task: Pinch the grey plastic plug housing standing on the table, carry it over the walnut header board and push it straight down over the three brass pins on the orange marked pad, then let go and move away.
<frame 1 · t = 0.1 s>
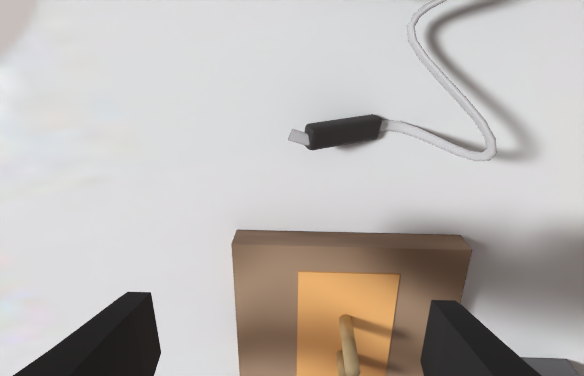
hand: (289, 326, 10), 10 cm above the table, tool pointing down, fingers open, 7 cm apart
header board: (340, 333, 22), on the table
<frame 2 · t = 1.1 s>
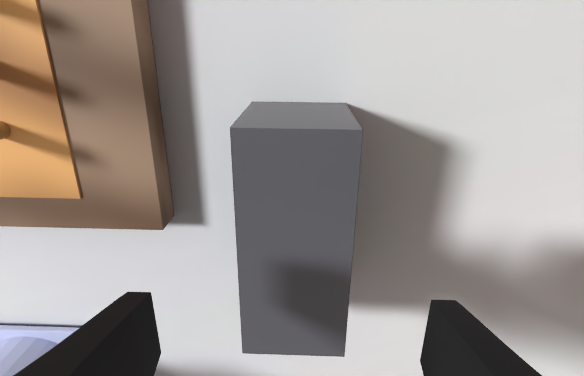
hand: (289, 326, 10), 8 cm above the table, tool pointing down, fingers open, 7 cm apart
header board: (13, 62, 15), on the table
plug housing: (297, 198, 17), on the table
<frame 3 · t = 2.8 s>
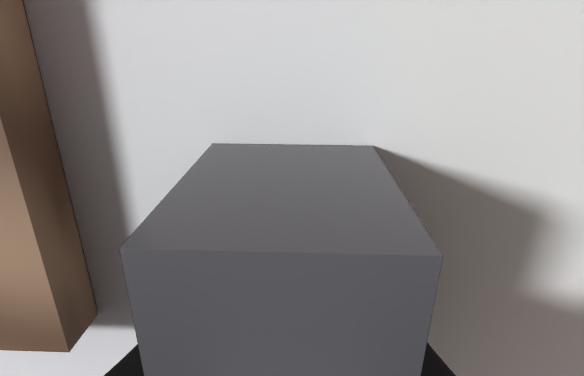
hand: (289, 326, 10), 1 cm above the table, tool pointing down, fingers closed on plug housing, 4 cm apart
plug housing: (291, 292, 11), on the table, touching gripper
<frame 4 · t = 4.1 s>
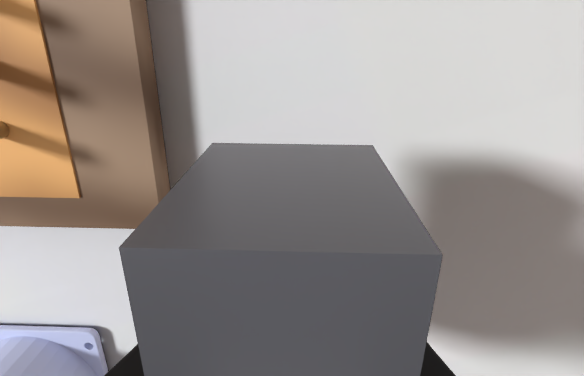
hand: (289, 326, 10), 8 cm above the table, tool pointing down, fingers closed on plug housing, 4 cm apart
header board: (12, 61, 15), on the table
plug housing: (291, 292, 11), point 7 cm above the table, touching gripper
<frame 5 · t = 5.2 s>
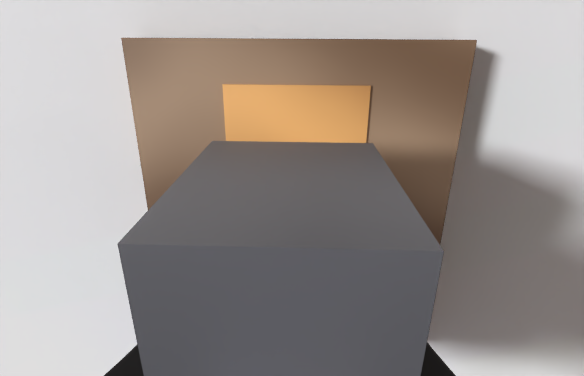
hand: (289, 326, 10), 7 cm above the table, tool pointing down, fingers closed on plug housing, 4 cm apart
header board: (295, 208, 16), on the table
plug housing: (291, 290, 11), point 6 cm above the table, touching gripper
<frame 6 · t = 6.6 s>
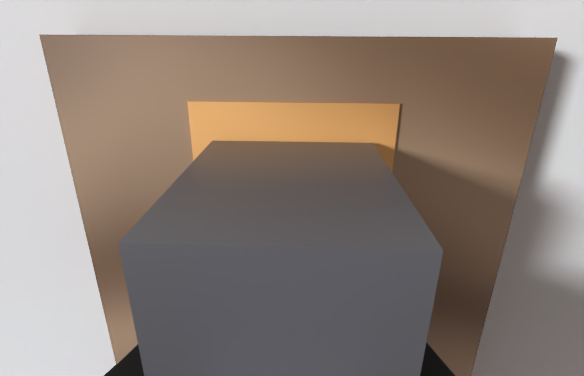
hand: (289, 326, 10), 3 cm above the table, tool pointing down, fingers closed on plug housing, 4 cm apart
header board: (293, 258, 13), on the table
plug housing: (291, 290, 11), point 2 cm above the table, touching gripper
when the fingers open (3 cm above the table, at t = 7.2 s): plug housing stays where it is, resting on header board.
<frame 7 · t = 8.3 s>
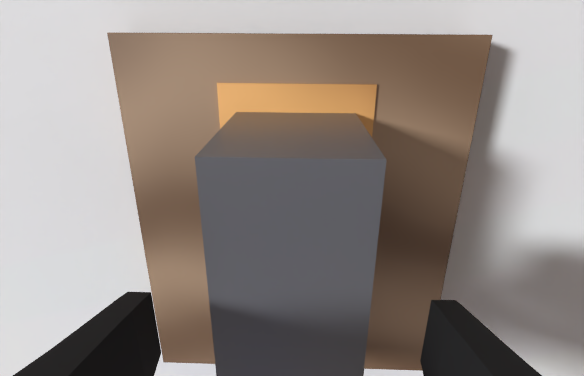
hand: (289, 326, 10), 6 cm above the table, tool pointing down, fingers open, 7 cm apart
header board: (295, 214, 15), on the table
plug housing: (294, 231, 14), point 2 cm above the table, touching header board
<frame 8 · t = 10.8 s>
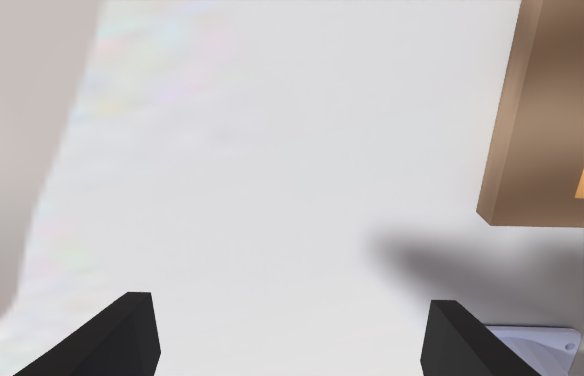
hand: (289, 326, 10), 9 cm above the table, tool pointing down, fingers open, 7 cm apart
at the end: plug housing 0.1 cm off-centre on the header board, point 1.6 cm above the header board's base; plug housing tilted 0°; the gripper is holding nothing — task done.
